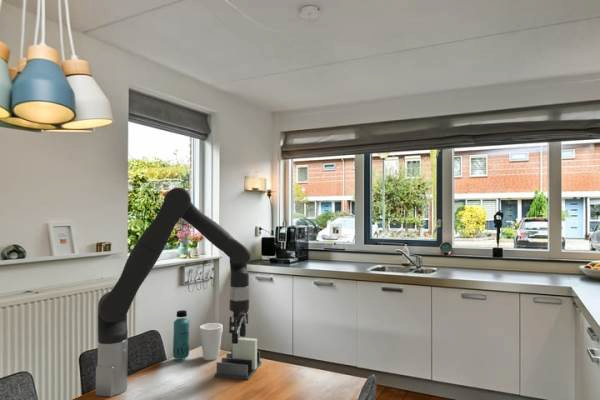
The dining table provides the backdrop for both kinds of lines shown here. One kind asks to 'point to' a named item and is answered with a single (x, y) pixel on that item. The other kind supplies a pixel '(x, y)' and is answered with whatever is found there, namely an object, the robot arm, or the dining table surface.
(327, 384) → the dining table surface
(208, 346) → the foam cup
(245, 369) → the rack
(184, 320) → the beverage bottle
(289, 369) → the dining table surface
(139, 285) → the robot arm
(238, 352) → the tile
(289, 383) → the dining table surface
